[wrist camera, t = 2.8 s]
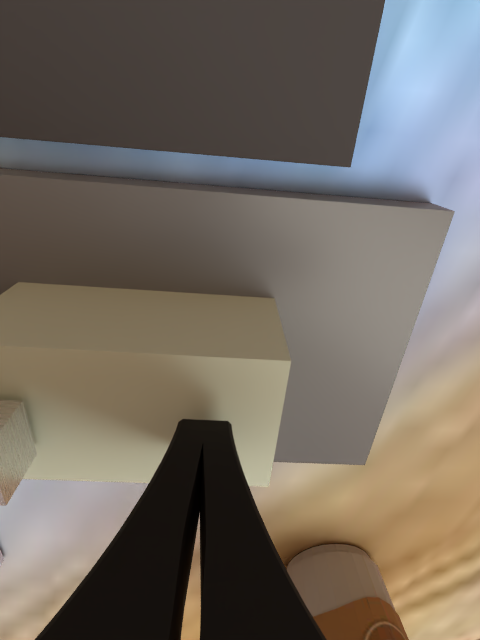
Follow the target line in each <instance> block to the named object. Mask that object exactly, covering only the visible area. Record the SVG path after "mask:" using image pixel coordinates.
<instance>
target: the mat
mask: <svg viewBox="0 0 480 640" xmlns="http://www.w3.org/2000/svg"><path fill="white" fill-rule="evenodd" d="M384 3H385V0H0V137H8V138H19V139H31V140H42V141H54V142H65V143H77V144H88V145H100V146H111V147H123V148H134V149H146V150H157V151H169V152H180V153H192V154H203V155H215V156H226V157H238V158H249V159H261V160H272V161H284V162H295V163H307V164H318V165H330V166H341V167H351V162H352V157H353V152H354V147H355V143H356V138H357V133H358V128H359V123H360V119H361V114H362V109H363V104H364V99H365V95H366V90H367V85H368V80H369V75H370V71H371V66H372V61H373V56H374V51H375V47H376V42H377V37H378V32H379V27H380V23H381V18H382V13H383V8H384Z"/></svg>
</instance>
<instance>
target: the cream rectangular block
mask: <svg viewBox="0 0 480 640" xmlns="http://www.w3.org/2000/svg"><path fill="white" fill-rule="evenodd" d="M290 366H291V358H290V354H289V351H288V347H287V343H286V339H285V336H284V332H283V328H282V325H281V321H280V317H279V313H278V310H277V306H276V302H275V298H262V297H246V296H231V295H215V294H199V293H183V292H167V291H152V290H136V289H120V288H104V287H89V286H73V285H57V284H41V283H26V282H18V283H16V284H15V285H14V286H12V287H11V288H9V289H8V290H7V291H5V292H4V293H2V294H1V295H0V400H17V401H23V403H24V407H25V411H26V415H27V418H28V422H29V426H30V430H31V433H32V437H33V441H34V445H35V449H36V452H37V455H36V457H35V458H34V460H33V462H32V463H31V465H30V467H29V468H28V470H27V472H26V473H25V475H24V477H23V478H22V479H39V480H71V481H103V482H134V483H149V482H150V481H151V479H152V477H153V475H154V473H155V472H156V470H157V468H158V466H159V464H160V463H161V461H162V459H163V457H164V455H165V453H166V451H167V449H168V447H169V445H170V442H171V440H172V438H173V435H174V433H175V431H176V428H177V425H178V422H179V421H181V420H182V419H195V420H218V421H228V422H230V423H231V424H232V432H233V437H234V442H235V446H236V450H237V453H238V456H239V460H240V463H241V466H242V469H243V472H244V475H245V478H246V480H247V483H248V486H262V487H269V483H270V478H271V472H272V466H273V461H274V455H275V450H276V444H277V438H278V433H279V427H280V422H281V416H282V410H283V405H284V399H285V394H286V388H287V382H288V377H289V371H290Z"/></svg>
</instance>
